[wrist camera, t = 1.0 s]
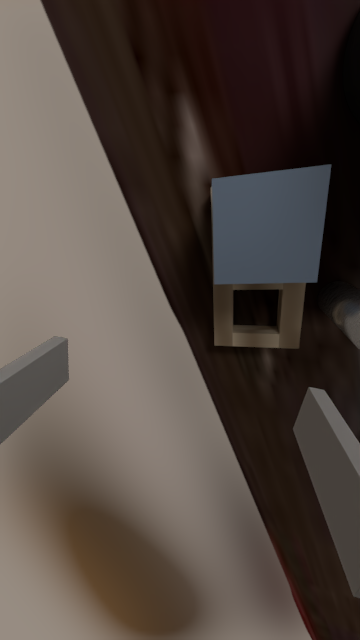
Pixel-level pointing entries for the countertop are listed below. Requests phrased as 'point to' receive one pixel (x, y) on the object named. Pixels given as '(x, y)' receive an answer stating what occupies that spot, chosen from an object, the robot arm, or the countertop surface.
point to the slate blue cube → (269, 226)
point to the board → (257, 335)
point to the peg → (342, 308)
